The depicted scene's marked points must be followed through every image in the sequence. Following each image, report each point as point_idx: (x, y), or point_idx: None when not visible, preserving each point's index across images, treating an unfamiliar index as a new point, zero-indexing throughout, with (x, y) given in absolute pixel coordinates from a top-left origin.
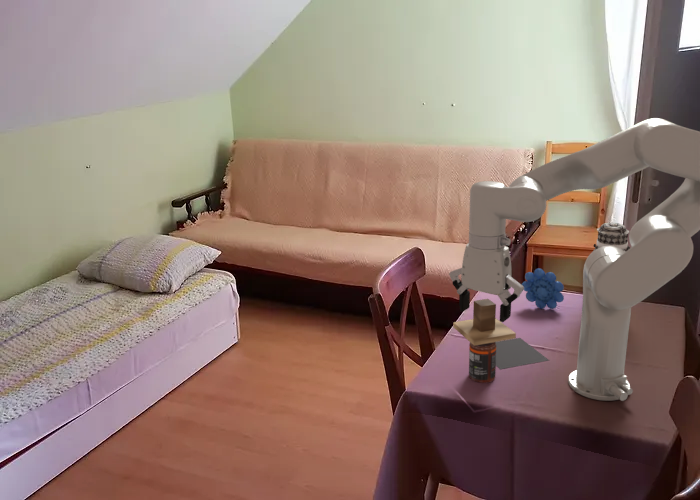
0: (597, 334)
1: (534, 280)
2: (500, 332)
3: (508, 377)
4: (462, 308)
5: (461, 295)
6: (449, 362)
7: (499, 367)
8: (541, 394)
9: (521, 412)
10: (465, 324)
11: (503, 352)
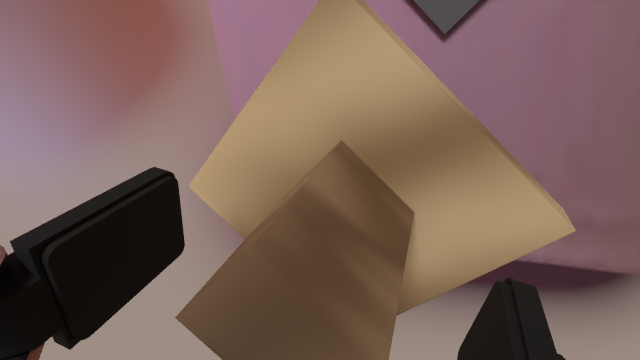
0: None
1: None
2: (458, 240)
3: (485, 71)
4: (165, 263)
5: (64, 346)
6: (267, 57)
7: (438, 19)
8: (633, 147)
9: (552, 262)
10: (245, 194)
11: None
